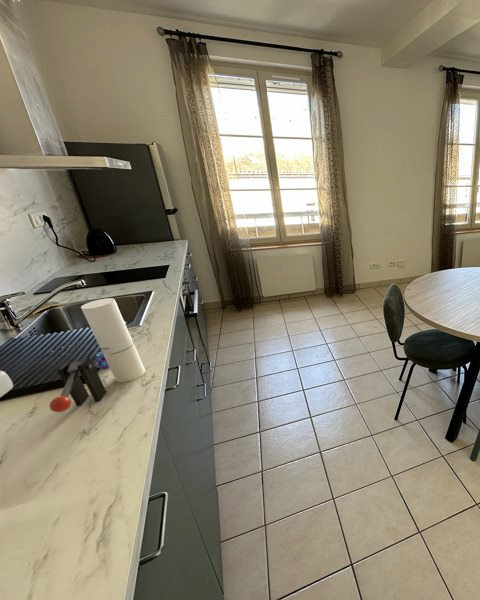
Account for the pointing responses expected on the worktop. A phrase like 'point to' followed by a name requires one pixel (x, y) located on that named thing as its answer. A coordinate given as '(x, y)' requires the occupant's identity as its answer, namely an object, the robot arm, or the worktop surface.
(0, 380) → the robot arm
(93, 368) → the toaster bracket
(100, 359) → the pudding
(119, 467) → the worktop surface
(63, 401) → the lever
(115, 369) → the cylindrical container
